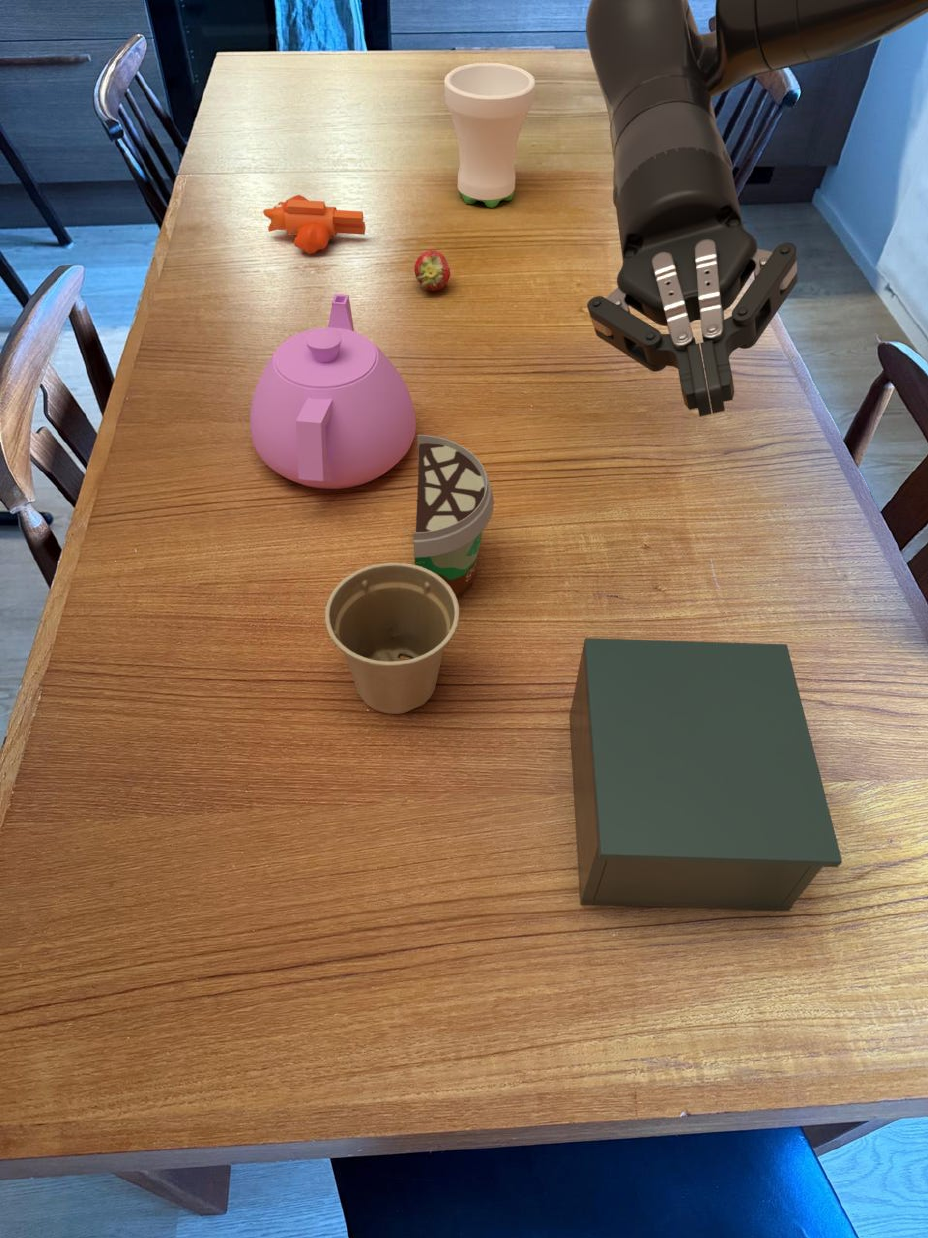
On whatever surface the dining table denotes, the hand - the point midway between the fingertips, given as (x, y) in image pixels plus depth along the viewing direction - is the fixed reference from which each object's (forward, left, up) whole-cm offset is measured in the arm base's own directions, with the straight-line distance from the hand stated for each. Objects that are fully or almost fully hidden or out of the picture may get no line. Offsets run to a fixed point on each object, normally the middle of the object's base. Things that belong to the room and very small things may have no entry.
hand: (710, 405), depth 51 cm
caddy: (-1, +12, -26) cm, 28 cm away
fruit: (+19, -55, -26) cm, 64 cm away
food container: (+15, -10, -26) cm, 31 cm away
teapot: (+27, -26, -26) cm, 45 cm away
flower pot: (+19, +2, -26) cm, 32 cm away
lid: (-1, +12, -17) cm, 21 cm away
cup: (+13, -78, -26) cm, 83 cm away
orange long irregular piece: (+34, -64, -26) cm, 77 cm away
